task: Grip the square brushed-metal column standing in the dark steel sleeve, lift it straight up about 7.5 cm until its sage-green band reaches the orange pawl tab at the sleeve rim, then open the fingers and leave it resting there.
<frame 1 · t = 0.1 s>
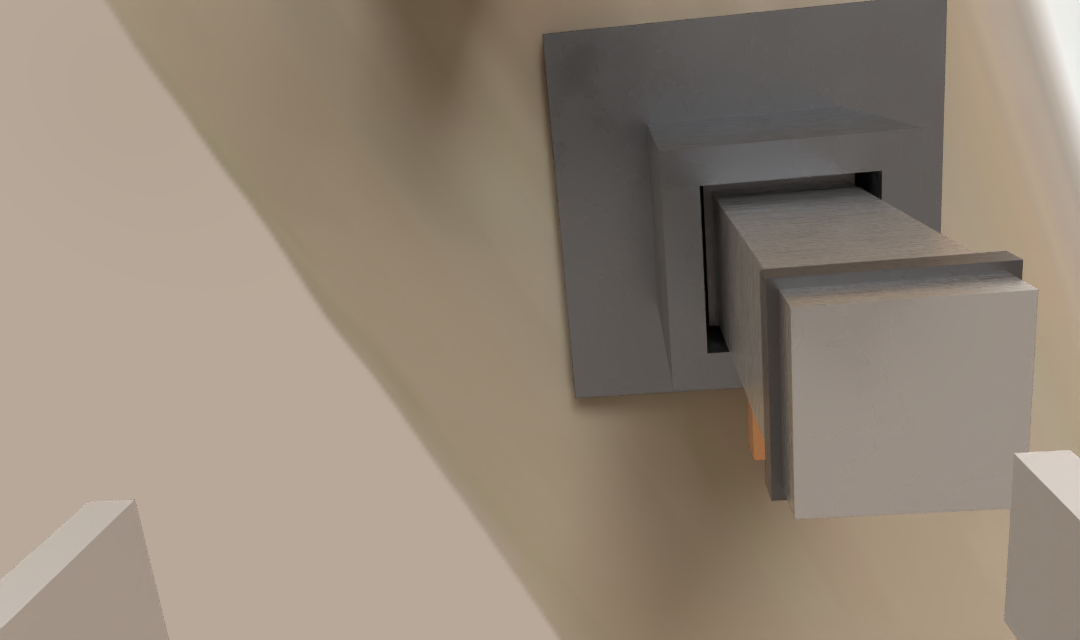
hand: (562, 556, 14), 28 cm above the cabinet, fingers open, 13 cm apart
stand base: (743, 207, 40), on the cabinet
column: (799, 274, 28), point 12 cm above the cabinet, slide at 0.0 cm
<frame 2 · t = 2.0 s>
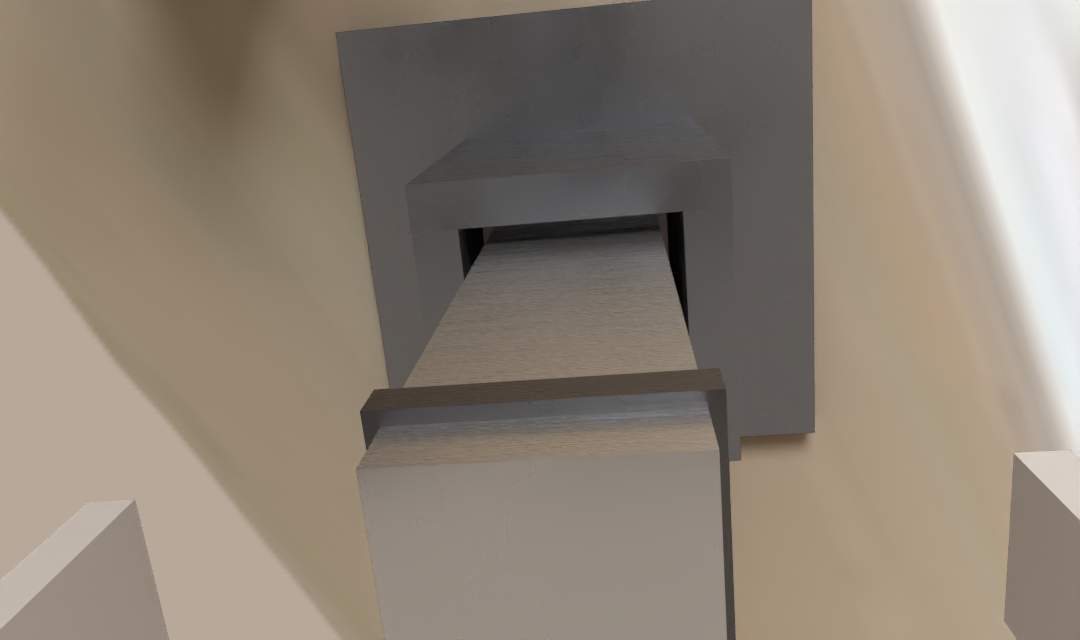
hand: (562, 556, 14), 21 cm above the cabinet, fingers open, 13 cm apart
stand base: (587, 236, 34), on the cabinet
column: (577, 342, 22), point 12 cm above the cabinet, slide at 0.0 cm
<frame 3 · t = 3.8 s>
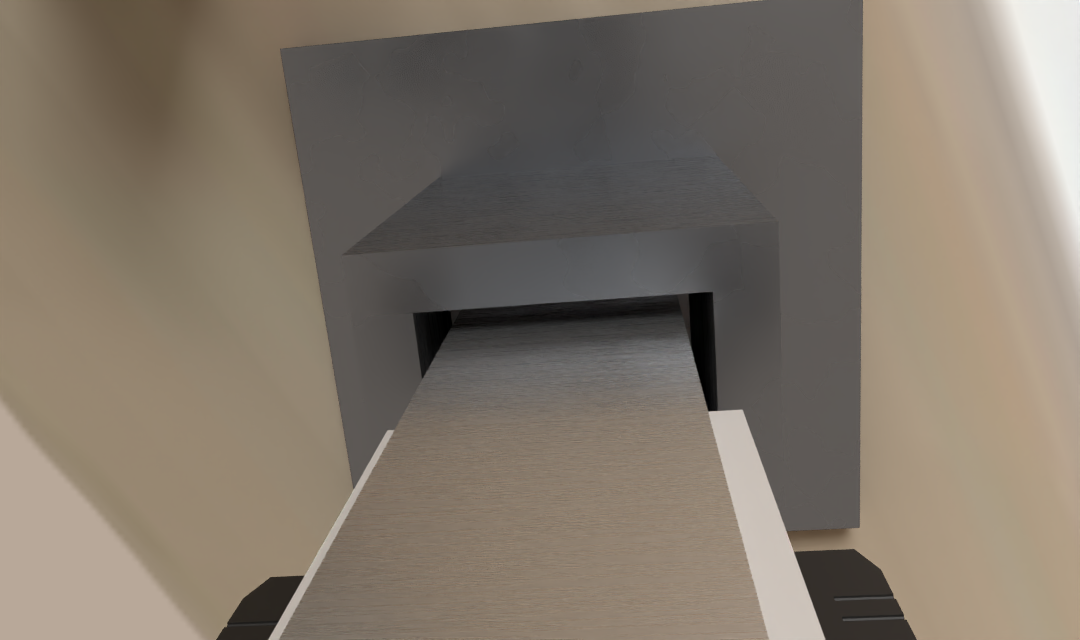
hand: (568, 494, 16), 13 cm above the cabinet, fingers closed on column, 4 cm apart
stand base: (586, 292, 28), on the cabinet
column: (570, 468, 17), point 12 cm above the cabinet, slide at 0.0 cm, touching gripper
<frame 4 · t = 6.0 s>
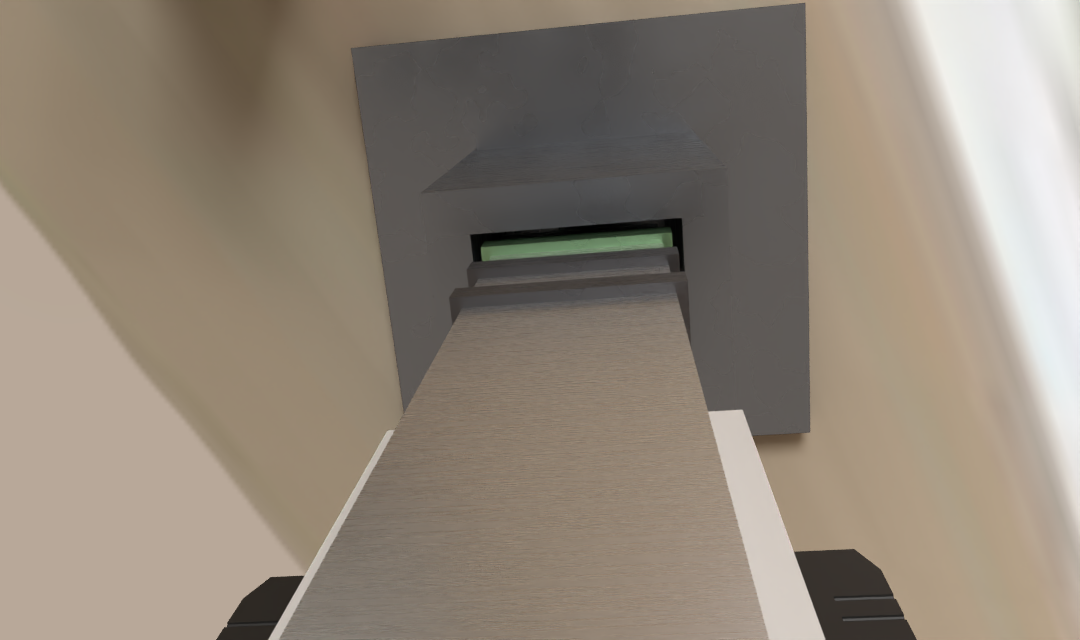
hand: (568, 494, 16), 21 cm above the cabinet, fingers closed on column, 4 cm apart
stand base: (591, 243, 35), on the cabinet
column: (570, 468, 17), point 20 cm above the cabinet, slide at 7.4 cm, touching gripper
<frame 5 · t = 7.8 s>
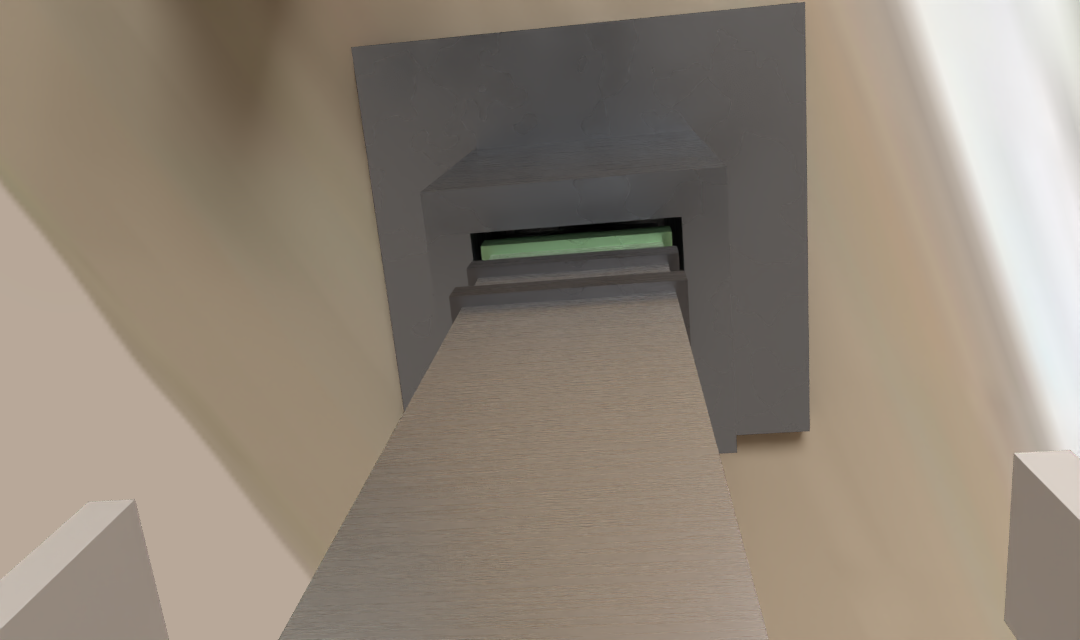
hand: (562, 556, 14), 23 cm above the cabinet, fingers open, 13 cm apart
stand base: (590, 241, 35), on the cabinet
column: (570, 467, 17), point 20 cm above the cabinet, slide at 7.5 cm
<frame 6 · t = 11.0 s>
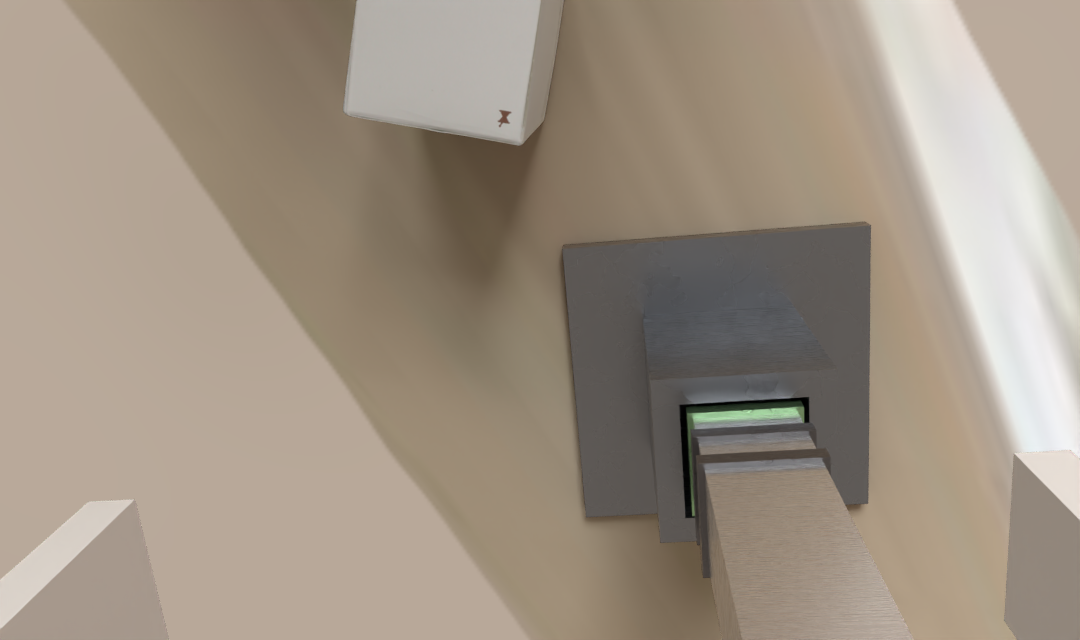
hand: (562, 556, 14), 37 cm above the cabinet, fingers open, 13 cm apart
stand base: (717, 373, 51), on the cabinet
supplement box: (487, 39, 47), on the cabinet
column: (780, 565, 33), point 20 cm above the cabinet, slide at 7.5 cm
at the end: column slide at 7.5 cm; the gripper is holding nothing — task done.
